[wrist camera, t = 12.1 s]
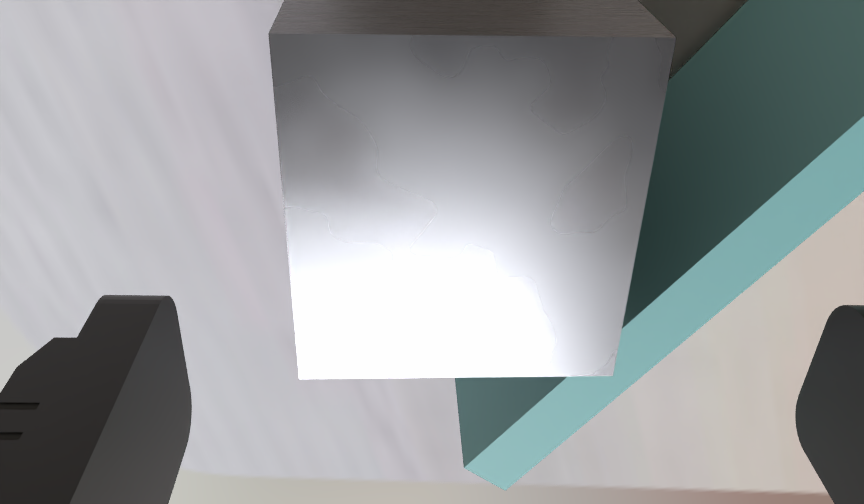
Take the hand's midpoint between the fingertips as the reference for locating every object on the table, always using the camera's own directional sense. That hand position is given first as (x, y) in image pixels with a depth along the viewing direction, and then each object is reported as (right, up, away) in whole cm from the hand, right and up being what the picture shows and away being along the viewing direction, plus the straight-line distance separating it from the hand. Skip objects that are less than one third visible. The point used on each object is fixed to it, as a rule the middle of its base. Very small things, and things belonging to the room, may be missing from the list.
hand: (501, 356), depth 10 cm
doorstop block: (-1, +6, +9) cm, 11 cm away
